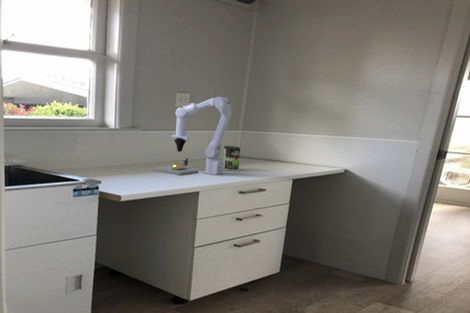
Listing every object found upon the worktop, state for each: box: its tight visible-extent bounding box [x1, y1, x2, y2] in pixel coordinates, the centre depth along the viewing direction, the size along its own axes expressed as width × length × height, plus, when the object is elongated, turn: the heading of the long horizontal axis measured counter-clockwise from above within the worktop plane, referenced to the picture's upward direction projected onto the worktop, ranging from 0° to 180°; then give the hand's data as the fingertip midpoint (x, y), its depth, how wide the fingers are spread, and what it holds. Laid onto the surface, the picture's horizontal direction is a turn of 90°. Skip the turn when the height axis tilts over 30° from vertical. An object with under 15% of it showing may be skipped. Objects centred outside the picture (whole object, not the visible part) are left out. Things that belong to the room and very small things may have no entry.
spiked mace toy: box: [171, 157, 189, 170], centre depth 263 cm, size 12×6×5 cm, turn 152°
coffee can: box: [222, 145, 241, 172], centre depth 286 cm, size 10×10×14 cm
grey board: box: [152, 165, 199, 176], centre depth 261 cm, size 19×18×2 cm
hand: (179, 151), depth 270 cm, fingers closed
